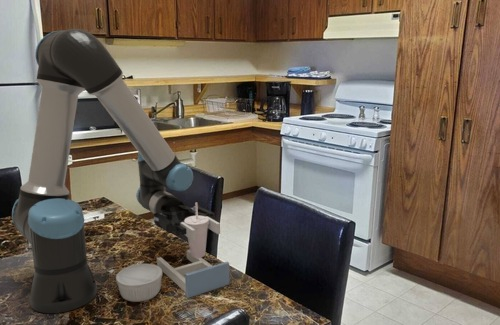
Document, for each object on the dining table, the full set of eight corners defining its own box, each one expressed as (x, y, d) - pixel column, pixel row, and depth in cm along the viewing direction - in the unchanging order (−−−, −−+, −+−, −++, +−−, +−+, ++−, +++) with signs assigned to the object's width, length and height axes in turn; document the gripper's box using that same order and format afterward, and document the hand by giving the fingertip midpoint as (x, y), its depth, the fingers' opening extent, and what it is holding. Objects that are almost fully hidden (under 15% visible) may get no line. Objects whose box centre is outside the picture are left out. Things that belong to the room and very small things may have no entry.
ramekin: (116, 308, 101) (115, 287, 100) (117, 285, 112) (115, 266, 110) (165, 301, 104) (164, 281, 103) (161, 279, 115) (160, 261, 114)
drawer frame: (187, 298, 105) (187, 275, 104) (154, 267, 121) (153, 247, 120) (229, 284, 112) (229, 262, 111) (192, 256, 128) (192, 237, 127)
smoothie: (212, 249, 115) (210, 199, 112) (207, 260, 109) (205, 208, 106) (188, 249, 116) (186, 199, 113) (182, 259, 110) (180, 207, 106)
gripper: (197, 212, 131) (239, 237, 113) (135, 226, 120) (171, 256, 102) (196, 188, 129) (239, 209, 111) (133, 200, 119) (170, 226, 100)
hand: (206, 232), depth 107 cm, fingers closed on smoothie, 6 cm apart
